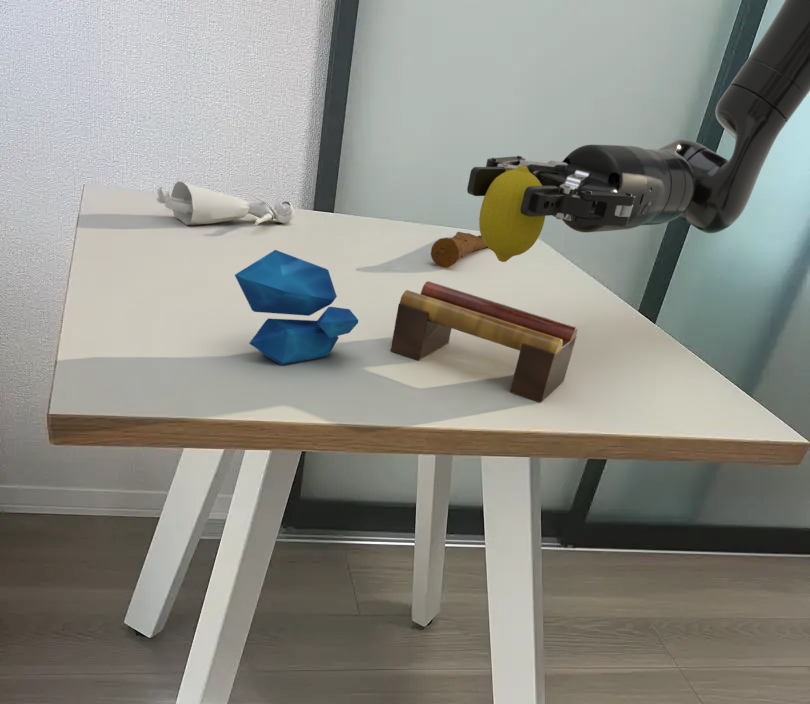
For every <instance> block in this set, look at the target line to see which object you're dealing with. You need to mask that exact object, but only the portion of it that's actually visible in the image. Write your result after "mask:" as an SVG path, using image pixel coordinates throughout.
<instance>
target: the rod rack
mask: <svg viewBox="0 0 810 704" xmlns="http://www.w3.org/2000/svg"><path fill="white" fill-rule="evenodd" d="M393 328H394V329H393V333H392V339H391V345H390V352H394V353H396V354H397V355H402V356H404V357H407V358H411V359H413V360H415V361H420V360H423V359H424V358H426V357H428V356H429V355H431V354H432V353H434V352H436V351H437V350H439V349H441V348H442V347H444V346H446V345H447V344H449V342H450V337H451V333H452V330H455V331H458V332H462V333H465V334H467V335H470V336H473V337H477V338H479V339H483V340H486V341H489V342H491V343H495V344H498V345H501V346H504V347H507V348H510V349H512V350H517V351H519V354H518V357H517V362H516V365H515V371H514V373H513V377H512V382H511V386H510V390H509V392H510V393H511V394H515V395H517V396H521V397H524V398H526V399H529V400H533V401H536V402H538V403H542V402H544V400H545V399H547V398H548V396H550V395H551V394H552V393H554V391H555V390H556V389H557V388H558V387H559V386H560V385H562V383H563V382H565V378H566V375H567V371H568V367H569V365H570V362H571V358H572V354H573V351H574V347H575V343H576V339H577V334H578V327H576V326H573V325H569V324H566V323H564V322H560V321H557V320H554V319H551V318H547V317H544V316H541V315H537V314H534V313H531V312H528V311H525V310H523V309H518V308H515V307H513V306H509V305H506V304H502V303H499V302H496V301H493V300H490V299H487V298H484V297H480V296H477V295H474V294H470V293H468V292H464V291H461V290H458V289H455V288H453V287H449V286H445V285H442V284H439V283H436V282H432V281H429V280H427V281H426V282H424V284H423V286H422V288H421V291H420V293H418V292H415V291H412V290H408V289H407V290H405V291H403V293H402V295H401V296H400V300H399V303H398V306H397V311H396V316H395V323H394V327H393Z"/></svg>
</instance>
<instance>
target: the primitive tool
mask: <svg viewBox="0 0 810 704" xmlns="http://www.w3.org/2000/svg"><path fill="white" fill-rule="evenodd" d="M486 248H488V247H487V245H486V244H485V242H484V241H483V239H482V236H481V234H480V235H474V234H472V233H467V232H461V231H456V234H455V235H454V236H452V237H450V238H449V237H441V238H439V239H437V240H436V241H435V242H434V243H433V245H432V246H431V248H430V249H431V250H430V257H431V259H432V261H433V262H434V263H435V265H437V266H438V267H441V268H451V266H453V265H455V264H456V263H457V261H459V258H462V259H463V258H464V257H465V256H466V255H467V254H471V253H472V252H475V251H479V250H481V249H482V250H483V249H486Z"/></svg>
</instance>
